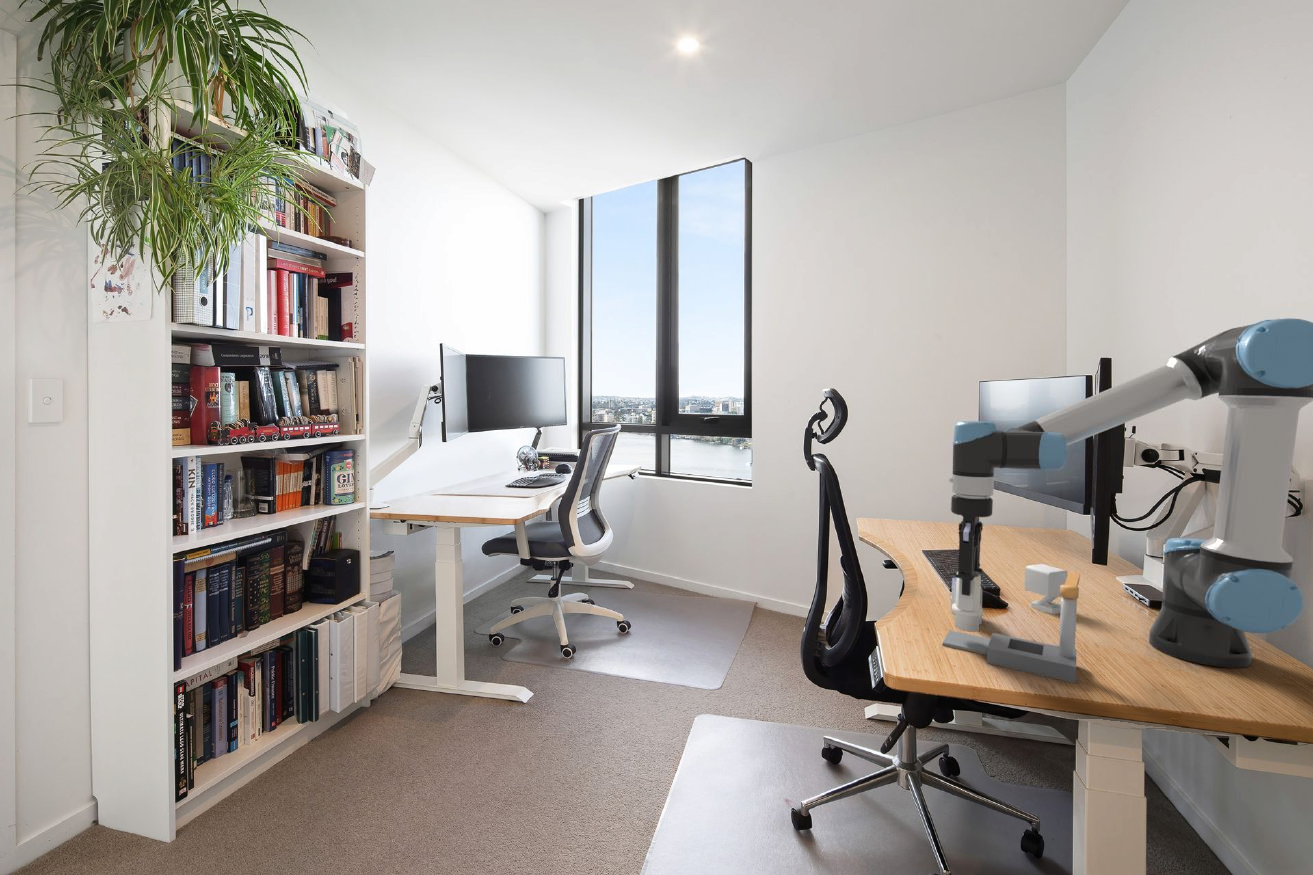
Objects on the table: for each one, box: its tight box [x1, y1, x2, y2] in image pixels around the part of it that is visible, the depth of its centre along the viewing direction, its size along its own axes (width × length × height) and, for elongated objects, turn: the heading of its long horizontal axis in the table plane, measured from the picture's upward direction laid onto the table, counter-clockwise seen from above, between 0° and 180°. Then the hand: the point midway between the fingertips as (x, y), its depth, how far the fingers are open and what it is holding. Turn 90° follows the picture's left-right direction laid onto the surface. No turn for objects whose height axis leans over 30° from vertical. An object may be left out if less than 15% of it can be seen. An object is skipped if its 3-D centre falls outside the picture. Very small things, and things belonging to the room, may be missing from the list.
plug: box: [951, 571, 984, 633], centre depth 121 cm, size 6×6×12 cm
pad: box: [942, 630, 991, 656], centre depth 121 cm, size 8×8×1 cm
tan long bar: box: [1060, 571, 1081, 600], centre depth 113 cm, size 14×3×4 cm, turn 141°
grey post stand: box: [986, 596, 1078, 684], centre depth 111 cm, size 14×9×14 cm, turn 54°
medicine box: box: [950, 577, 983, 626], centre depth 135 cm, size 8×4×9 cm, turn 168°
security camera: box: [1024, 563, 1069, 615], centre depth 142 cm, size 6×7×10 cm
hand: (967, 605), depth 121 cm, fingers closed on plug, 4 cm apart
